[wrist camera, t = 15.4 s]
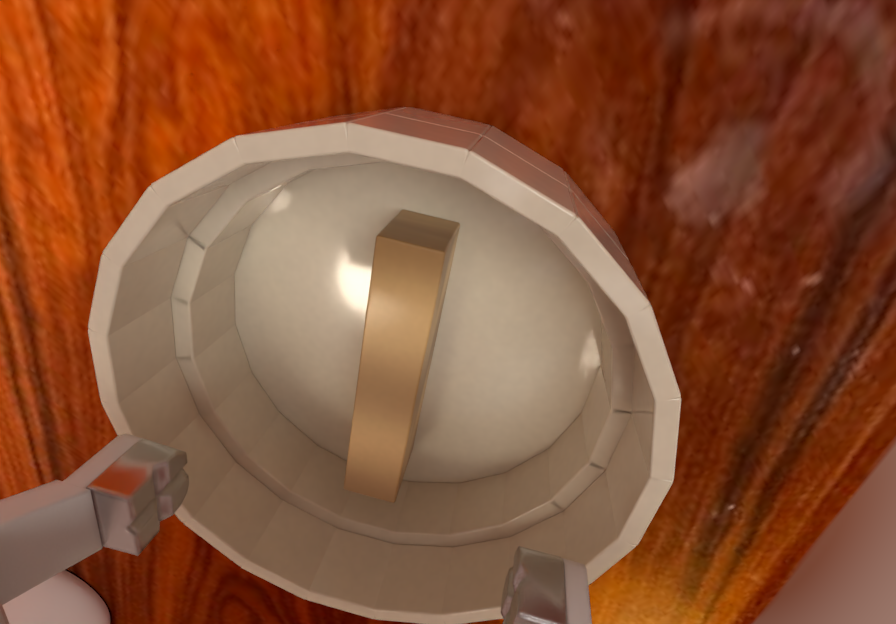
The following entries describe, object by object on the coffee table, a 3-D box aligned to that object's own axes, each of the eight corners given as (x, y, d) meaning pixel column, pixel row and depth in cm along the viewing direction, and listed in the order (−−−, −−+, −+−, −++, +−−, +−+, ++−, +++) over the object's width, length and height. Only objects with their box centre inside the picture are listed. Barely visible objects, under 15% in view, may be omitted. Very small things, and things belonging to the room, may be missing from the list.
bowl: (714, 171, 15) (817, 227, 9) (558, 530, 22) (565, 675, 17) (206, 59, 16) (34, 52, 10) (221, 439, 23) (126, 549, 18)
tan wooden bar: (402, 208, 16) (375, 235, 13) (461, 222, 16) (445, 252, 13) (367, 436, 21) (342, 489, 18) (413, 448, 20) (394, 504, 18)
